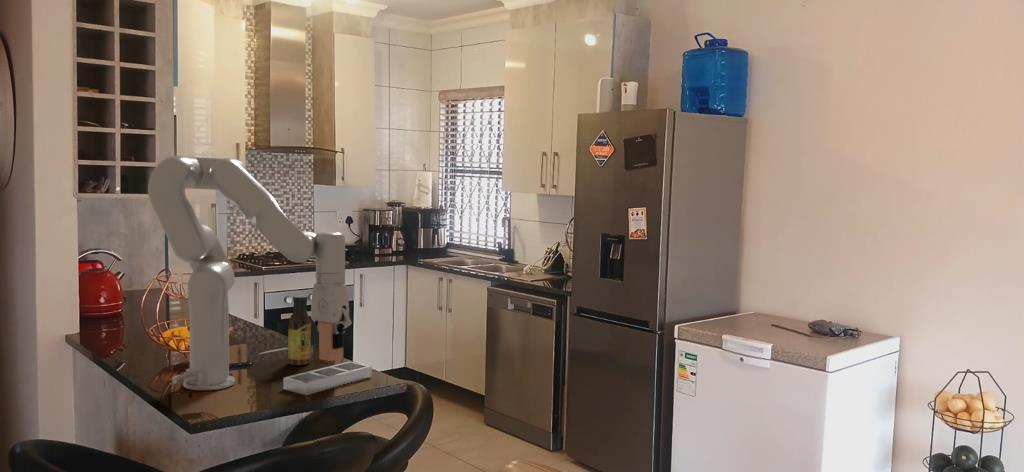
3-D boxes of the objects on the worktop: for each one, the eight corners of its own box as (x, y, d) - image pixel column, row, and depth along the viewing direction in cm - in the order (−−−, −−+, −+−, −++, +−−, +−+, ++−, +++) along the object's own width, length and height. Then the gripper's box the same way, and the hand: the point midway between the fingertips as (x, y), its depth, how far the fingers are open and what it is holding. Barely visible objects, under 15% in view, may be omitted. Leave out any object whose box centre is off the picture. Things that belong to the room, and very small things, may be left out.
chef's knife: (248, 355, 242) (253, 356, 240) (248, 351, 242) (253, 352, 240) (302, 346, 256) (308, 347, 254) (302, 342, 256) (307, 343, 254)
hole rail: (306, 395, 200) (306, 383, 199) (283, 389, 204) (283, 377, 204) (371, 376, 219) (371, 366, 219) (349, 371, 224) (349, 361, 224)
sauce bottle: (303, 367, 227) (304, 298, 226) (283, 365, 229) (284, 297, 227) (314, 362, 234) (314, 295, 232) (294, 360, 235) (295, 294, 234)
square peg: (330, 361, 208) (330, 323, 207) (319, 358, 211) (319, 321, 210) (343, 358, 212) (343, 321, 211) (331, 355, 214) (331, 319, 213)
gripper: (297, 277, 211) (298, 345, 213) (342, 283, 202) (343, 353, 203) (319, 274, 217) (319, 340, 219) (363, 280, 208) (364, 348, 209)
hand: (331, 346), depth 211 cm, fingers closed on square peg, 4 cm apart
